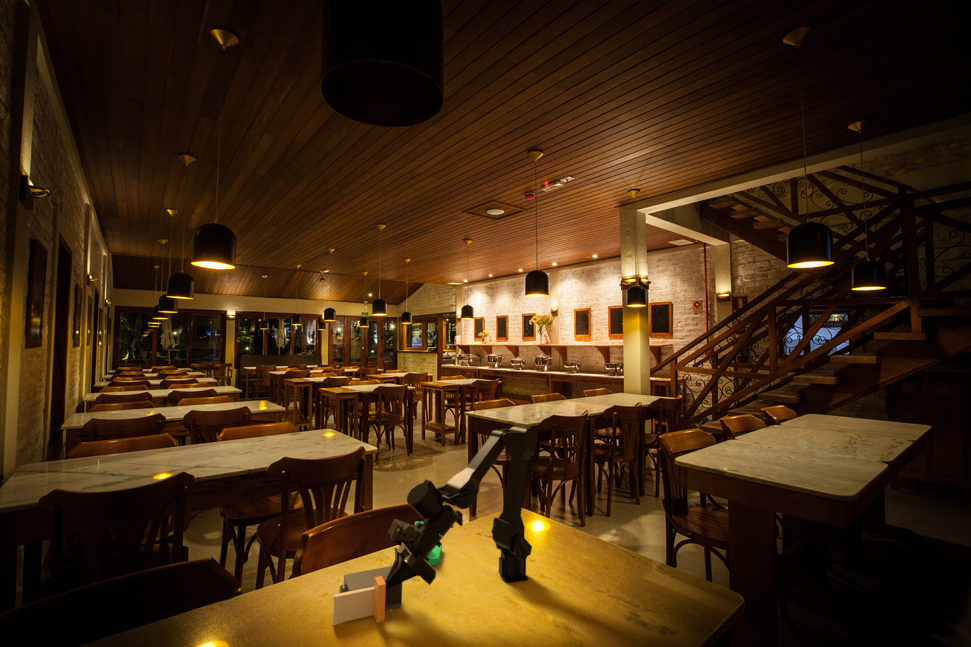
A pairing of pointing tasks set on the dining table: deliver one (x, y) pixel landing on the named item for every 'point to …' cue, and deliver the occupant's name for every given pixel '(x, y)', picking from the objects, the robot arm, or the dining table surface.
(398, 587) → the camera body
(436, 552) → the camera mount
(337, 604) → the side door
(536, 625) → the dining table surface
